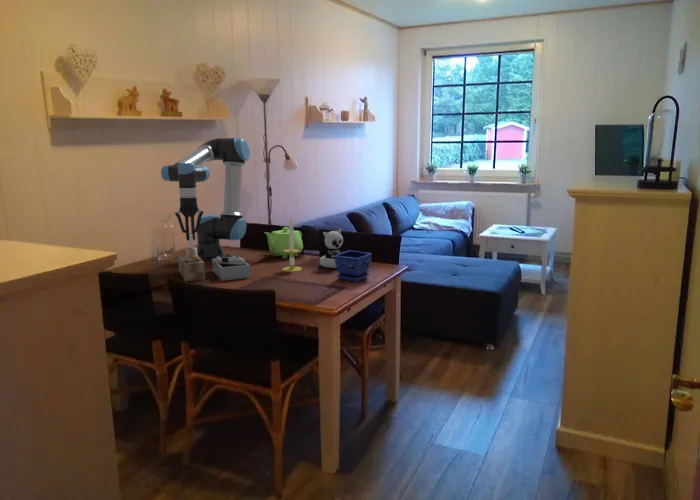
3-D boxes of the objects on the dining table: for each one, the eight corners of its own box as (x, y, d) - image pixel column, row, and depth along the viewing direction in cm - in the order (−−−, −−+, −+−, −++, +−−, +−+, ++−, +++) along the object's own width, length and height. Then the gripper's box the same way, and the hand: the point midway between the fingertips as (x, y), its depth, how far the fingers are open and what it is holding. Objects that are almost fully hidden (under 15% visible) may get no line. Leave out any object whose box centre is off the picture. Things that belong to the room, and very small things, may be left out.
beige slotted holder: (197, 269, 278) (196, 253, 276) (205, 279, 260) (204, 261, 258) (178, 271, 274) (177, 255, 272) (185, 281, 256) (184, 263, 255)
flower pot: (358, 284, 252) (358, 258, 249) (333, 279, 259) (333, 254, 256) (372, 277, 263) (372, 252, 260) (348, 273, 270) (348, 249, 267)
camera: (251, 272, 272) (250, 252, 269) (243, 276, 263) (242, 256, 261) (222, 270, 276) (221, 250, 274) (213, 274, 268) (212, 254, 266)
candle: (305, 268, 280) (304, 215, 275) (295, 272, 272) (294, 218, 266) (288, 266, 285) (287, 214, 279) (278, 270, 276) (276, 216, 270)
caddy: (239, 267, 281) (238, 256, 280) (250, 277, 263) (249, 265, 262) (212, 270, 275) (211, 259, 274) (221, 280, 257) (220, 268, 256)
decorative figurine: (324, 270, 276) (323, 230, 272) (316, 263, 290) (315, 226, 286) (352, 267, 281) (352, 229, 277) (343, 261, 295) (343, 224, 290)
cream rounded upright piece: (196, 262, 265) (195, 246, 264) (198, 264, 261) (197, 248, 259) (186, 263, 263) (185, 247, 262) (187, 265, 259) (186, 249, 257)
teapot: (287, 249, 325) (286, 222, 322) (310, 255, 310) (310, 227, 306) (251, 255, 309) (250, 227, 305) (273, 262, 293) (272, 232, 290)
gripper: (201, 195, 261) (203, 244, 266) (172, 196, 256) (175, 246, 261) (204, 196, 255) (206, 247, 260) (174, 198, 249) (178, 249, 254)
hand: (191, 246), depth 260 cm, fingers closed
